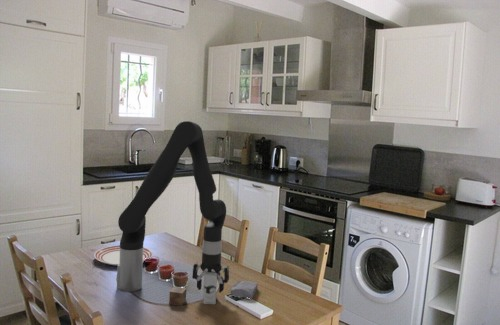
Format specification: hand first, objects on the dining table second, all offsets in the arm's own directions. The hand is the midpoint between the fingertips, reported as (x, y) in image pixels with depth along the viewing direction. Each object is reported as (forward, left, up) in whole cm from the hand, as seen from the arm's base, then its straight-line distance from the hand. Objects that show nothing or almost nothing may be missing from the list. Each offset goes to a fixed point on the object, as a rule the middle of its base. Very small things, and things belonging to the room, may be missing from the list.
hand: (210, 290), depth 175 cm
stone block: (+11, +11, -4) cm, 16 cm away
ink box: (0, 0, -4) cm, 4 cm away
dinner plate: (-52, +31, -4) cm, 61 cm away
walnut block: (-11, -6, -4) cm, 13 cm away
